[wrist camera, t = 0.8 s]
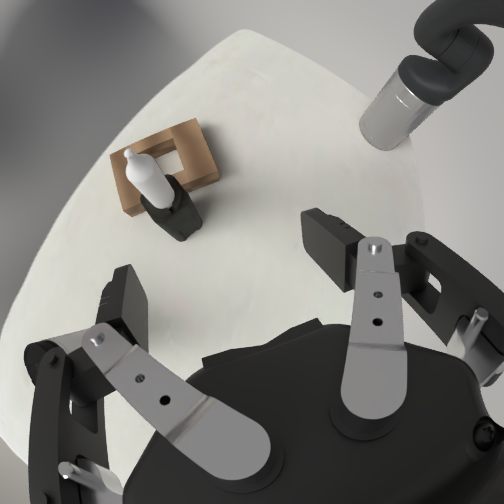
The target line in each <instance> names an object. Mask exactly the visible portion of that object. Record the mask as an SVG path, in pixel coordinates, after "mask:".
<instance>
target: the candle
mask: <svg viewBox="0 0 504 504" xmlns="http://www.w3.org/2000/svg"><path fill="white" fill-rule="evenodd" d="M124 156H125V157H126V158H127V161H128V164H127V167H126V176H127V178H128V180H129V181H130V182H131V183H132V184H133V185H134V186H135V187H136V188H137V189H138V190H139V191H140V192H141V193H142V194H141V196H140V202H141V204H142V205H143V207H144V208H145V210H146V211H147V212H148V214H149V215H150V217H151V218H152V219H153V221H154V222H155V223H156V224H158V225H159V226H160V227H161V228H163V229H164V230H165V231H166V232H167V233H169V234H170V235H171V236H172V237H174V238H175V239H176V240H178V241H180V242H182V241H185V240H186V238H187V237H188V236H190V235H191V234H192V233H193V232H195V231H196V230H197V229H198V230H199V229H200V228H201V226H202V220H201V218H200V216H199V214H198V213H197V211H196V209H195V207H194V205H193V203H192V201H191V199H190V197H189V195H188V193H187V192H186V191H185V189H184V188H183V187H182V186H181V184H180V183H179V182H178V181H177V179H176V178H175V177H174V176H172V175H169V174H167V175H164V174H163V173H162V171H161V169H160V168H159V166H158V164H157V163H156V161H155V160H154V158H153V157H152V156H150V155H148V154H137V153H134V150H133V149H131V148H128V149H126V150H125V152H124Z"/></svg>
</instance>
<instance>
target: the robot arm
mask: <svg viewBox="0 0 504 504" xmlns="http://www.w3.org/2000/svg"><path fill="white" fill-rule="evenodd" d="M473 24H487V25H493V26H498V27H502V28H504V0H436V1H435V2H433V3H432V4H431V5H430V6H429V7H427V8H426V10H424V12H423V13H422V14H421V15H420V17H419V18H418V20H417V22H416V24H415V27H414V38H415V40H416V42H417V43H418V45H419V46H420V47H421V48H423V49H424V50H425V51H426V52H427V53H429V54H430V55H432V56H433V57H434V58H436V59H437V60H438V61H437V60H432V59H428V58H425V57H421V56H417V55H409V56H407V57H405V58H404V59H403V60H402V62H401V63H400V65H399V66H398V68H397V69H396V70H395V72H394V73H393V75H392V76H391V78H390V79H389V80H388V82H387V83H386V85H385V86H384V87H383V88H382V90H381V91H380V93H379V94H378V95H377V97H376V98H375V99H374V101H373V102H372V103H371V105H370V106H369V107H368V109H367V110H366V112H365V113H364V114H363V116H362V117H361V119H360V123H359V124H360V130H361V132H362V134H363V136H364V137H365V139H366V140H367V141H368V142H369V143H370V144H372V145H373V146H375V147H376V148H378V149H381V150H391V149H393V148H395V147H396V146H397V145H398V144H399V143H400V142H401V141H402V140H403V139H405V138H406V137H407V136H408V135H409V134H410V133H411V132H412V131H413V130H414V129H416V128H417V127H418V126H419V125H420V124H421V123H422V122H423V121H424V120H425V119H426V118H427V117H428V116H430V115H431V114H432V113H433V112H434V111H435V110H436V109H437V108H438V107H439V106H440V105H441V104H443V103H444V102H445V101H448V100H450V99H452V98H453V97H454V96H455V95H457V94H458V93H459V92H460V91H461V90H463V89H464V88H465V87H466V86H468V85H469V84H470V83H471V82H473V81H474V80H475V79H476V78H478V77H479V76H480V75H481V74H482V73H483V72H484V71H485V70H486V69H487V68H488V66H489V65H490V63H491V61H492V59H493V56H494V47H493V44H492V42H491V40H490V39H489V38H488V37H487V36H486V35H485V34H484V33H483V32H481V31H480V30H479V29H478V28H477V27H476V26H474V25H473ZM301 226H302V237H303V244H304V248H305V250H306V252H307V253H308V254H309V255H310V257H311V258H312V259H313V260H314V261H315V262H316V263H317V264H318V265H319V266H320V267H321V268H322V269H323V271H324V272H325V273H326V274H327V275H328V276H329V277H330V278H331V279H332V280H333V281H334V282H335V284H336V285H337V286H338V287H339V288H340V289H341V290H342V291H343V292H344V293H345V292H347V291H350V290H352V289H354V290H355V294H354V304H353V313H352V322H351V326H350V325H344V324H327V325H322V324H321V322H320V321H319V319H318V318H315V319H313V320H310V321H308V322H305V323H303V324H300V325H298V326H295V327H292V328H290V329H288V330H287V331H285V332H284V333H282V334H281V335H279V336H277V337H276V338H274V339H273V340H271V341H269V342H268V343H266V344H264V345H260V346H253V347H245V348H237V349H230V350H227V351H224V352H220V353H217V354H214V355H211V356H207V357H204V358H202V363H203V368H201V369H199V370H198V371H196V372H195V373H194V374H192V375H191V376H190V377H189V378H188V379H187V380H186V381H184V380H182V379H181V378H180V377H178V376H177V375H175V374H174V373H173V372H171V371H170V370H169V369H167V368H166V367H165V366H163V365H162V364H161V363H159V362H158V361H157V360H156V359H154V358H153V357H152V356H151V355H149V353H148V301H147V297H146V294H145V291H144V289H143V287H142V285H141V283H140V281H139V279H138V277H137V275H136V273H135V271H134V269H133V267H132V265H131V264H128V265H125V266H122V267H119V268H116V269H115V270H114V275H113V279H112V281H111V282H108V283H107V285H106V286H105V288H104V289H103V291H102V295H101V300H100V304H99V305H100V306H99V309H98V313H97V318H96V323H95V325H94V326H92V327H91V328H89V329H88V330H87V331H86V332H85V334H84V335H83V337H82V341H81V345H82V346H81V347H80V348H78V349H76V350H74V351H72V352H71V353H69V354H67V353H66V352H65V351H64V349H63V348H61V347H55V348H52V349H50V350H49V351H48V352H46V354H45V355H44V356H43V357H42V359H41V361H40V365H39V370H38V375H37V380H36V386H35V392H34V398H33V405H32V413H31V423H30V435H29V457H28V469H29V471H28V472H29V494H30V503H31V504H504V428H503V427H501V426H500V425H498V424H497V423H495V422H494V421H493V420H492V419H491V417H490V416H489V414H488V412H487V410H486V407H485V405H484V402H483V399H482V395H481V391H480V388H481V387H482V386H483V387H488V386H490V385H492V384H493V383H494V382H495V381H496V380H497V379H498V377H499V376H500V375H501V374H502V372H503V371H504V293H503V292H502V291H501V290H500V289H499V288H498V287H497V286H495V285H494V284H493V283H492V282H491V281H490V280H489V279H487V278H486V277H485V276H484V275H482V274H481V273H480V272H479V271H478V270H476V269H475V268H474V267H473V266H472V265H470V264H469V263H468V262H467V261H465V260H464V259H463V258H462V257H460V256H459V255H458V254H456V253H455V252H453V251H452V250H451V249H450V248H448V247H447V246H446V245H444V244H443V243H442V242H440V241H439V240H437V239H436V238H434V237H433V236H432V235H430V234H428V233H425V232H420V231H415V232H411V233H409V234H408V235H407V237H406V244H401V245H394V246H391V244H390V242H388V241H387V240H385V239H383V238H380V237H365V236H364V235H362V234H361V233H359V232H358V231H357V230H355V229H354V228H353V227H351V226H350V225H348V224H347V223H345V222H344V221H343V220H341V219H340V218H339V217H335V216H332V215H327V214H325V213H324V212H322V211H321V210H320V209H318V208H313V209H310V210H306V211H303V212H301ZM430 273H431V274H432V275H433V276H434V277H435V278H436V279H437V280H438V281H439V282H440V284H441V293H440V292H439V291H438V290H437V289H435V288H434V287H433V286H432V285H431V284H430V283H429V282H428V279H429V275H430ZM401 296H402V298H403V299H404V300H405V301H406V302H407V303H408V304H409V305H410V306H411V307H412V308H413V309H414V310H415V311H416V313H417V314H418V315H419V316H420V317H421V318H422V319H423V320H424V321H425V322H426V324H427V325H428V326H429V327H430V328H431V329H432V330H433V331H434V332H435V333H436V335H437V336H438V337H439V338H440V339H441V341H442V342H443V343H444V344H445V345H446V347H447V352H448V354H446V353H443V352H439V351H435V350H432V349H428V348H424V347H421V346H417V345H414V344H410V343H407V342H404V332H403V315H402V314H403V313H402V299H401ZM116 390H117V391H118V392H119V393H120V394H121V395H122V396H123V397H124V398H125V399H126V400H127V402H128V403H129V404H130V405H131V406H132V407H133V408H134V409H135V410H136V411H137V412H138V413H139V414H140V415H141V416H142V417H143V418H144V419H145V420H146V421H147V422H149V423H150V424H151V425H152V426H153V427H154V428H155V429H156V431H155V432H154V434H153V436H152V438H151V439H150V441H149V443H148V445H147V447H146V448H145V450H144V452H143V454H142V455H141V457H140V459H139V461H138V462H137V464H136V466H135V468H134V470H133V471H132V473H131V475H130V477H129V478H128V480H127V482H126V484H125V486H124V489H123V487H122V486H121V483H120V480H119V478H118V477H117V476H116V475H115V474H114V473H113V472H112V471H110V469H109V462H108V453H107V444H106V432H105V416H104V396H106V395H108V394H110V393H112V392H114V391H116ZM70 400H71V401H72V415H71V413H70V409H69V404H70Z"/></svg>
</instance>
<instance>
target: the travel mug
mask: <svg viewBox="0 0 504 504" xmlns="http://www.w3.org/2000/svg"><path fill="white" fill-rule="evenodd" d="M88 329H89V328H88ZM88 329H85V330H81V331H77V332H73V333H69V334H65V335H61V336H57V337H53V338H49V339H45V340H42V341H39V342H35V343H31V344H29V345H27V347H26V348H25V351H24V363H25V366H26V368H27V371H28V374H29V376H30V378H31V379H32V383H33V384H34V386H36V380H37V375H38V370H39V365H40V361H41V359H42V357H43V356H44V355H45V354H46V352H48V351H49V350H50V349H52V348H55V347H61V348H63V349H64V351H65V352H66V353H67V354H69V353H71V352H72V351H74V350H76V349H78V348H80V347H81V346H82V345H81V341H82V337H83V335H84V334H85V332H86V331H87V330H88Z"/></svg>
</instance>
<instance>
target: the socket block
mask: <svg viewBox="0 0 504 504" xmlns="http://www.w3.org/2000/svg"><path fill="white" fill-rule="evenodd" d="M128 148H131V149H133V150H134V153H137V154H148V155H150V156H152V157H153V158H157V157H159V156H161V155H164V154H166V153H168V152H171V151H173V150H176V149H177V151H178V154H179V157H180V159H181V162H182V165H183V168H184V170H183V171H180V172H178V173H175V174H173V175H172V176H174V177H175V178H176V179H177V181H178V182H179V183H180V184H181V186H182V187H183V188H184V189H185V191H186V192H187V193H188V192H191V191H193V190H196V189H198V188H201V187H203V186H206V185H208V184H211V183H214V182H216V181H219V174H218V169H217V167H216V165H215V162H214V160H213V157H212V155H211V153H210V150H209V148H208V146H207V143H206V141H205V138H204V136H203V134H202V131H201V129H200V126H199V124H198V122H197V119H196V118H194V119H191V120H189V121H186V122H183V123H181V124H178V125H175V126H173V127H170V128H168V129H165V130H163V131H161V132H158V133H156V134H153V135H151V136H149V137H146V138H144V139H142V140H140V141H138V142H135V143H133V144H131V145H129V146H127V147H125V148H123V149H121V150H119V151H117V152H115V153H113V154H111V155H110V159H111V164H112V169H113V173H114V177H115V181H116V186H117V190H118V194H119V197H120V201H121V205H122V209H123V211H124V212H125V213H127V214H128V215H130V216H131V217H133V216H136V215H138V214H140V213H142V212H144V211H146V210H145V208H144V207H143V205H142V204H141V202H140V196H141V194H142V193H141V192H140V191H139V190H138V189H137V188H136V187H135V186H134V185H133V184H132V183H131V182H130V181H129V180H128V178H127V176H126V167H127V164H128V161H127V158H126V157H125V156H124V152H125V150H126V149H128Z"/></svg>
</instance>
